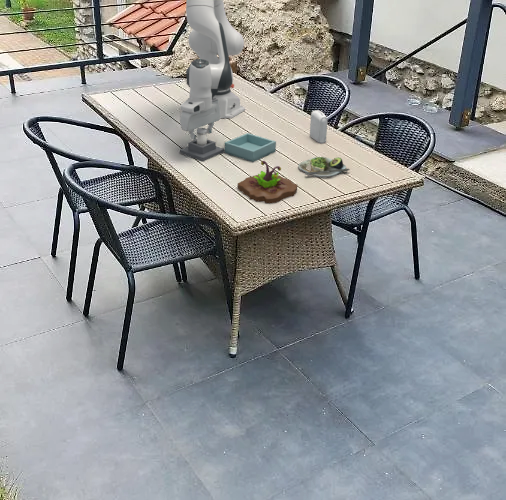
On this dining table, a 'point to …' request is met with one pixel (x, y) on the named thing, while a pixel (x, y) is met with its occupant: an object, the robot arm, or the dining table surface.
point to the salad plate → (323, 167)
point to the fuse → (201, 136)
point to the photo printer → (318, 126)
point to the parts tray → (250, 147)
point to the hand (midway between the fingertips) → (201, 136)
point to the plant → (267, 186)
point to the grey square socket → (201, 150)
